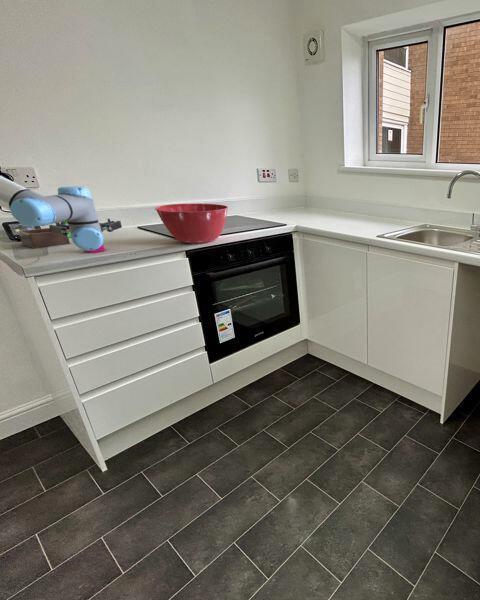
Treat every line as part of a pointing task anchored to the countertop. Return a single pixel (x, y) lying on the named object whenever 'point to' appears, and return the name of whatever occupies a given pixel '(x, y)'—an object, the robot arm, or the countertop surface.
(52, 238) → the holder
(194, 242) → the mixing bowl
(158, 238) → the countertop surface
